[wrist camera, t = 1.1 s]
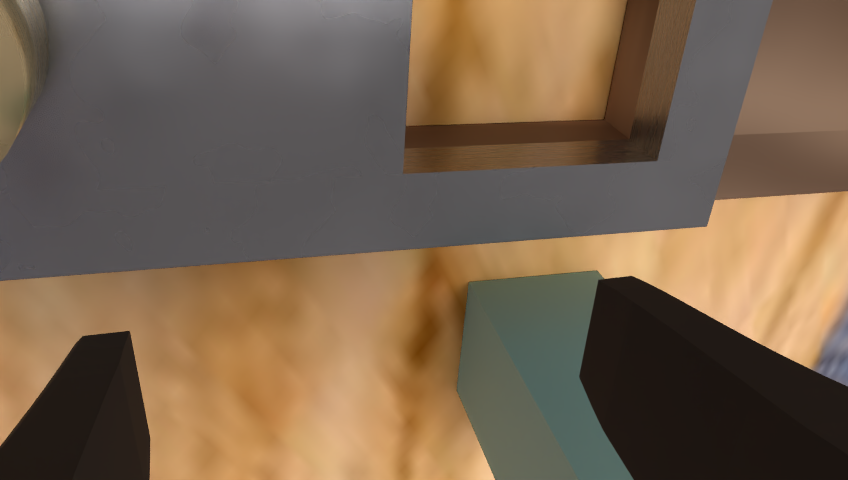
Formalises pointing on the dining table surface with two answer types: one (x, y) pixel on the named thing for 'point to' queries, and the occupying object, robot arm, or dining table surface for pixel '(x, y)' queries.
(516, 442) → the block
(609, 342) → the robot arm
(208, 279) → the dining table surface
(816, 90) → the walnut link
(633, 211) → the metal link
